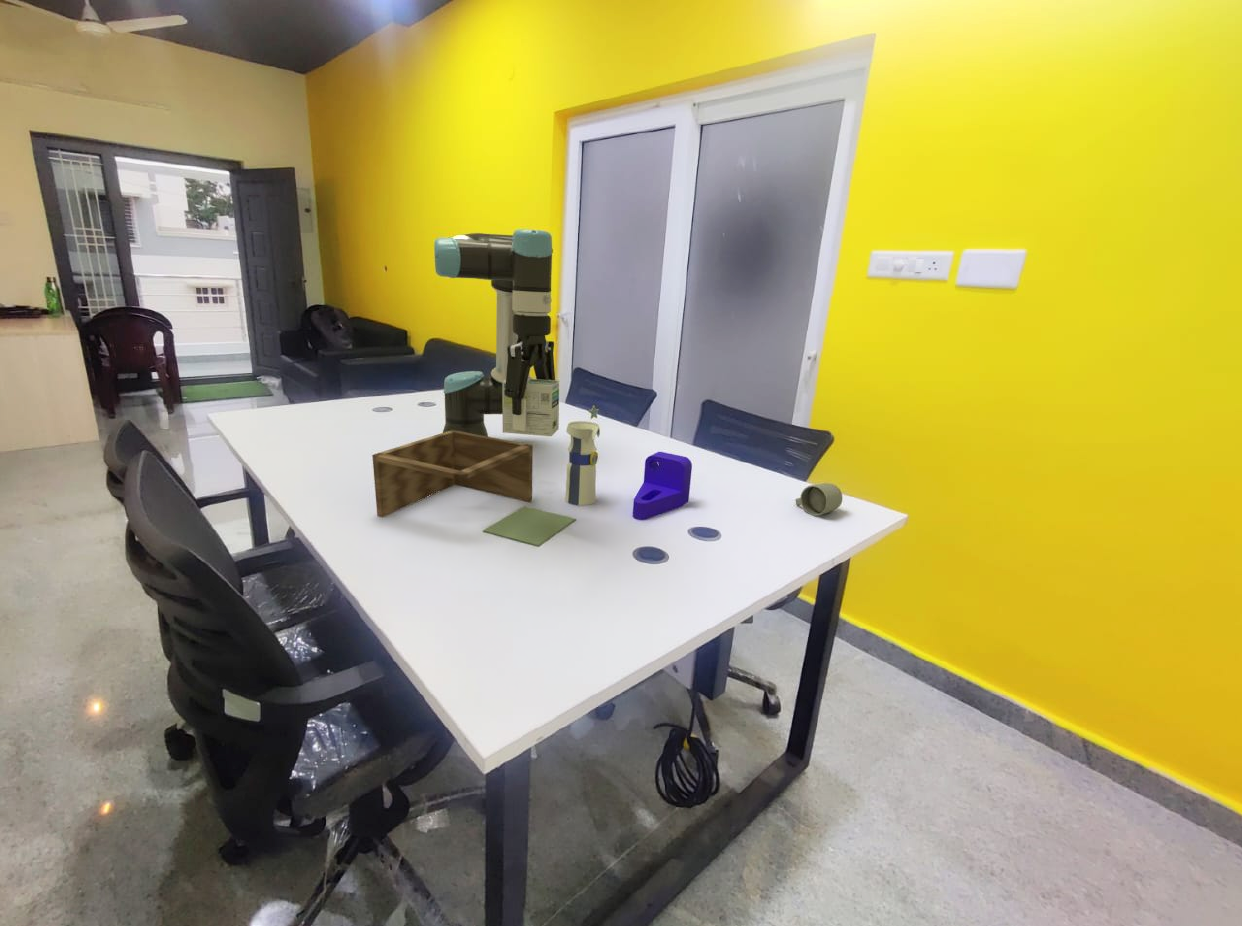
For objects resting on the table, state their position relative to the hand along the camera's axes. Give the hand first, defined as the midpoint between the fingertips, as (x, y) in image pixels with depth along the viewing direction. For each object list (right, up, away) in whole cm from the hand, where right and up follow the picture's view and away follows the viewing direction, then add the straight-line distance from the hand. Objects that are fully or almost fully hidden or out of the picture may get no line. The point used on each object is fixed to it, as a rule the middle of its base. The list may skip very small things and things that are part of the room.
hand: (531, 425), depth 121 cm
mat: (-1, -22, +7) cm, 23 cm away
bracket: (+27, -19, +22) cm, 40 cm away
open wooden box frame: (-19, -18, +15) cm, 30 cm away
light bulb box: (0, -1, 0) cm, 2 cm away
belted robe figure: (+9, -17, +24) cm, 31 cm away
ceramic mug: (+68, -20, +26) cm, 76 cm away
